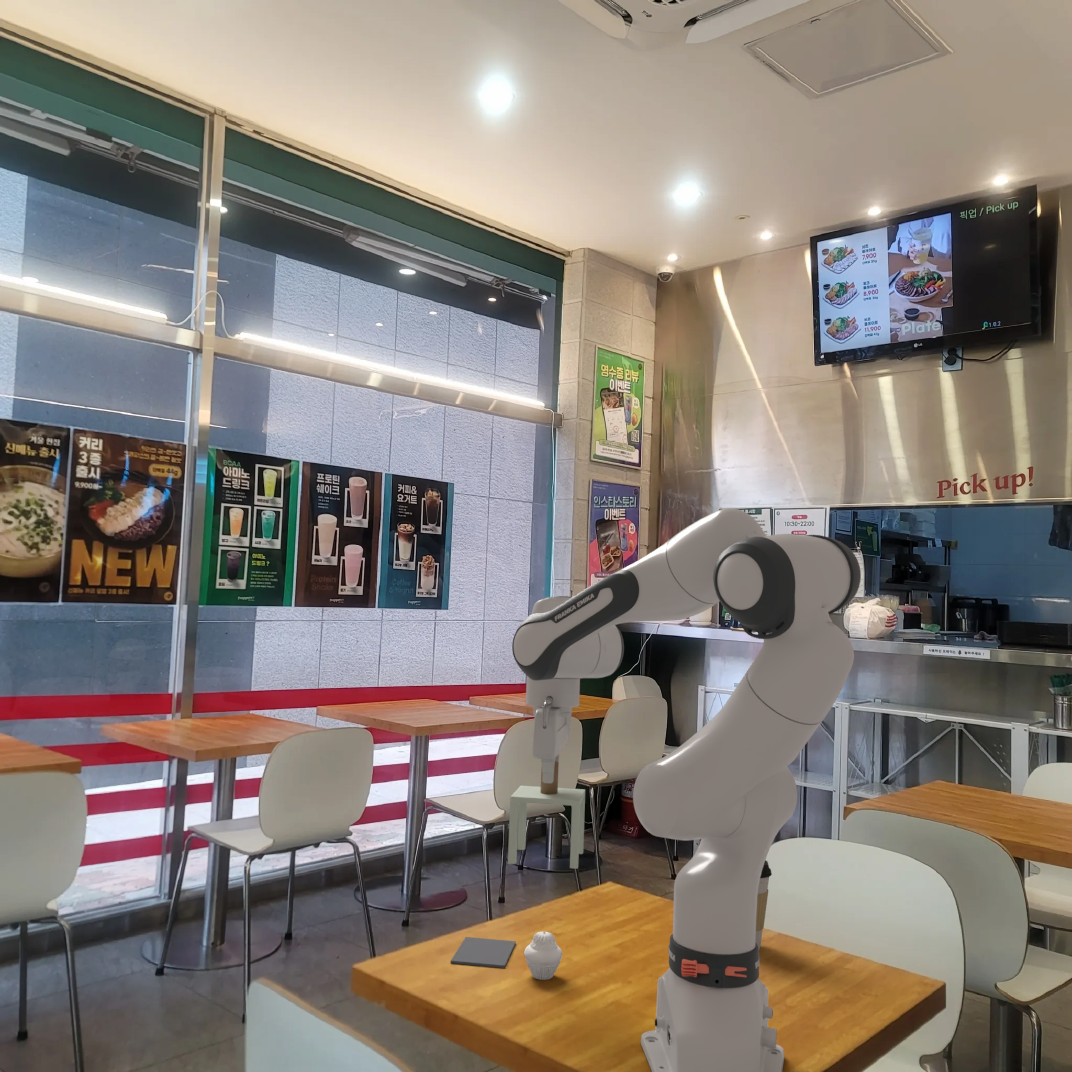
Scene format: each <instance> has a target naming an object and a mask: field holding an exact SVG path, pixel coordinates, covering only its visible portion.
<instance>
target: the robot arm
mask: <svg viewBox="0 0 1072 1072" xmlns="http://www.w3.org/2000/svg"><path fill="white" fill-rule="evenodd" d="M861 573H862V571H861V567H860V563H859V560H858V559H857V557H856V555H855V553H854V551H853V550H852V549H851V548H849V547H848V546H847V545H846V544H844V543H843V542H842V541H839V540H837V539H835V538H832V537H829V536H825V535H819V534H793V533H779V534H772V535H771V534H770V535H767V534H766V533H765V531H764V530H763V528H762V527H761V525H760V524H759V522H758V521H757V520H756V519H755V518H754V517H753V516H752V515H750V514H749V513H748V512H746V511H744V510H741V509H738V508H735V507H734V508H733V507H732V508H731V507H729V508H728V507H727V508H722V509H719V510H717V511H714V512H712V513H709V514H708V515H706V516H704V517H702V518H700V519H698V520H696V521H695V522H693V523H692V524H690V525H688V526H687V527H685V528H683V529H682V530H681V531H679V532H678V533H676V534H675V535H674V536H673V537H671V538H669V539H668V540H667V541H666V542H664V543H663V544H662V545H661V546H659V547H657V548H656V549H654V550H653V551H651V552H649V553H648V554H646V555H645V556H643V557H641V558H640V559H638V560H636V561H635V562H633V563H631V564H629V565H627V566H625V567H623V568H621V569H620V570H617V571H615V572H613V573H612V574H610V575H608V576H605V577H603V578H602V579H599V580H598V581H596V582H595V583H593V584H591V585H589V586H588V587H587V588H585V589H583V590H581V591H580V592H578V593H577V594H576V595H574V596H564V595H562V596H561V595H557V596H548V597H544V598H541V599H539V600H538V601H536V602H534V604H533V607H532V609H531V614H529V615H528V616H527V617H526V618H525V619H524V620H523V621H522V622H521V624H520V625H519V626H518V627H517V630H515V632H514V635H513V638H512V642H511V643H512V645H511V647H512V648H511V650H512V655H513V658H514V660H515V662H516V664H517V666H518V667H519V669H520V670H521V671H522V673H524V675H526V689H525V704H526V705H527V706H531V707H532V715H533V717H534V719H533V720H534V721H533V732H532V733H533V734H532V756H533V759H538V760H540V762H541V764H542V772H543V773H542V781H543V782H544V783H553V781H554V765H555V761H558V762H560V761H559V760H560V753H561V752H562V750H564V748H565V747H566V746H567V745H568V740H569V735H570V729H571V723H572V721H571V720H572V712H573V708H579V706H580V691H581V690H580V689H581V686H580V685H581V682H580V681H581V679H601V678H605V677H610V676H612V675H613V674H614V673H616V671H617V670H618V669H619V668H620V666H621V663H622V662H623V661H622V660H623V657H624V653H625V644H624V638H623V634H622V632H621V630H620V629H619V627H618V626H617V625H620V624H627V623H635V622H667V621H668V622H669V621H673V622H674V621H681V620H685V619H688V618H691V617H694V616H696V615H698V614H701V613H703V612H705V611H707V610H709V609H710V608H712V607H714V606H715V605H716V604H718V603H719V602H720V604H721V606H722V607H723V608H724V610H725V611H726V612H727V613H728V615H730V616H731V617H732V619H734V620H735V621H736V622H738V623H739V624H740V625H741V627H742V629H743V631H744V632H745V633H746V634H747V635H748V636H750V637H751V638H753V639H754V638H755V639H759V640H763V643H762V647H761V648H760V650H759V652H758V654H757V655H756V657H755V658H754V660H753V662H752V663H751V665H750V666H749V668H748V669H747V671H746V672H745V674H744V676H743V677H742V678H741V680H740V682H739V683H738V685H736V687H735V688H734V690H733V691H732V694H730V696H729V698H728V699H727V701H726V702H725V704H724V705H723V706H722V708H721V709H720V710H719V711H718V712H717V713H716V715H714V717H712V718H711V719H710V720H709V721H708V722H707V723H706V724H705V725H704V726H702V727H701V728H700V729H699V730H698V731H697V732H695V733H694V734H693V735H692V736H691V737H690V738H688V739H687V740H686V741H684V742H683V743H682V744H681V745H680V746H679V747H677V748H676V749H674V750H672V752H670V753H669V754H667V755H665V756H663V757H662V758H659V759H657V760H655V761H653V762H650V763H648V764H646V765H645V766H644V767H643V768H642V769H641V770H640V771H639V773H638V775H637V778H636V779H635V781H634V782H635V783H634V786H633V792H632V801H633V802H632V803H633V808H634V812H635V814H636V816H637V818H638V820H639V822H640V824H641V825H642V826H643V828H644V829H645V830H646V832H648V834H649V833H650V835H652V836H655V837H657V838H658V837H659V838H664V839H671V840H675V841H676V840H677V841H682V842H683V841H684V842H685V841H688V842H689V841H695V840H696V841H697V840H700V841H699V842H700V843H699V845H698V847H697V849H696V850H695V853H694V855H693V856H692V857H691V859H690V860H689V861H688V862H687V863H686V864H685V865H683V866H682V868H681V869H680V870H679V871H678V873H677V875H676V877H675V880H674V884H673V911H672V912H673V913H672V914H673V916H672V918H673V919H672V922H673V923H672V934H670V937H669V943H668V947H667V948H668V965H669V966H668V969H667V970H666V971H665V972H664V973H663V974H662V975H661V976H660V977H659V978H658V979H657V987H656V988H657V989H656V991H657V992H656V1009H655V1010H656V1011H655V1013H656V1014H655V1019H654V1026H655V1029H653V1030H649V1031H645V1032H643V1033H642V1034H641V1037H640V1038H641V1039H640V1044H641V1047H642V1049H643V1052H644V1055H645V1057H646V1059H647V1062H648V1063H647V1064H648V1066H649V1068H650V1070H651V1072H783V1069H784V1068H783V1067H784V1061H785V1050H784V1048H783V1047H782V1045H779V1044H777V1038H778V1037H777V1028H774V1027H769V1020H770V1019H771V1020H773V1017H774V1008H773V1007H772V1006H769V988H768V987H767V986H766V985H765V984H764V983H763V982H762V981H761V980H760V979H759V977H760V964H761V962H760V953H759V951H760V950H758V944H757V943H756V912H757V894H758V886H759V880H760V876H761V872H762V869H763V866H764V862H765V860H766V861H767V856H768V854H769V851H770V848H771V846H772V844H773V842H774V840H775V838H776V836H777V835H778V833H779V832H780V830H781V829H782V828H783V827H784V825H785V824H787V822H788V821H789V820H790V819H791V818H792V817H793V815H794V813H795V811H796V807H797V804H798V788H797V784H796V780H795V777H794V775H793V774H792V772H791V770H790V768H789V767H788V766H789V765H791V764H792V763H793V762H794V761H795V760H796V758H797V757H798V755H799V754H800V753H801V752H802V751H803V749H804V747H805V745H806V744H807V743H808V742H809V741H810V739H811V737H813V735H814V733H815V732H816V731H817V730H818V727H820V725H821V724H822V722H823V721H824V719H825V718H826V717H827V716H828V713H829V712H830V711H831V709H832V708H833V706H834V704H835V703H836V702H837V700H838V697H839V695H840V693H841V692H842V690H843V688H844V686H845V684H846V681H847V679H848V677H849V675H850V672H851V670H852V668H853V664H854V660H855V653H854V648H853V643H852V642H851V640H850V639H849V637H848V635H847V634H846V633H845V632H844V631H843V630H842V629H841V628H840V627H839V626H838V625H836V624H834V623H833V620H832V619H831V617H830V615H831V614H834V613H836V612H838V611H839V610H841V609H843V608H845V607H846V606H847V605H848V604H850V602H851V601H852V600H853V599H854V598H855V596H856V595H857V593H858V591H859V588H860V585H861V576H862V574H861ZM752 631H753V632H755V633H752Z"/></svg>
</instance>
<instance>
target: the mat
mask: <svg viewBox="0 0 1072 1072" xmlns="http://www.w3.org/2000/svg"><path fill="white" fill-rule="evenodd" d="M516 942H517V941H515V940H503V939H494V938H480V937H472V936H471V937H470V936H465V938H464V939H463V941H462V942H461V943H460V945H459V947H458V948H457V950H456V952H455V953H454V955H453V956H452V958H451V959H450V964H457V965H467V966H476V967H477V966H478V967H488V968H499V969H505V968H506V966H507V963H508V961H509V959H510V957H511V955H512V953H513V951H514V948H515V946H516V944H517V943H516Z"/></svg>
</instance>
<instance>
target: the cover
mask: <svg viewBox="0 0 1072 1072" xmlns="http://www.w3.org/2000/svg"><path fill="white" fill-rule="evenodd" d="M559 763H560V761H555V765H554V781H553V783H544V782H543V781H542V773H543V772H542V764H541V765H540V766H541V767H540V768H541V769H540V786H534V785H533V786H531V785H519V787H518V788H517V789H516V790H515V791H514V792H513V793H512V794H511V795H510V798H509V800H510V802H509V821H508V822H509V823H508V824H509V826H508V827H509V828H508V847H507V849H508V850H507V851H508V852H507V865H516V864H517V859H518V857H517V856H518V852H517V851H518V850H519V851H525V849H526V845H527V844H526V843H527V842H526V841H527V840H526V839H527V813H528V810H527V809H528V804H537V805H538V804H540V805H555V806H571V817H570V818H571V821H570V822H571V824H570V827H571V829H570V849H569V850H570V851H569V853H570V855H569V869H575V870H576V869H579V856H580V855H583V854H584V840H585V839H584V838H585V836H584V835H585V804H586V789H585V788H584V789H582V788H581V789H580V788H569V787H568V788H567V787H566V788H565V787H559Z"/></svg>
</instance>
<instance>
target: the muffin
mask: <svg viewBox="0 0 1072 1072" xmlns="http://www.w3.org/2000/svg"><path fill="white" fill-rule="evenodd" d="M523 954H524V955H523V956H524V958H525V963H526V965H527V966H528V969H529V971H530V974H531V976H532V978H534V979H536V980H541V981H546V980H547V981H548V980H551V979H552V978H553V977H554V975H555V974H556V971H557V969H558V968H559V966H560V964H561V960H562V958H563V950H562V949H561V948H560V946H559V945H558V944H557V942H556V937H555V935H554V934H553V933H552V932H550V931H537V932H536V933H535V934H534V935H533V937H532V940H531V942H530V943H529V944H528V945H527V946H526V947H525V949H524V953H523Z"/></svg>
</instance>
